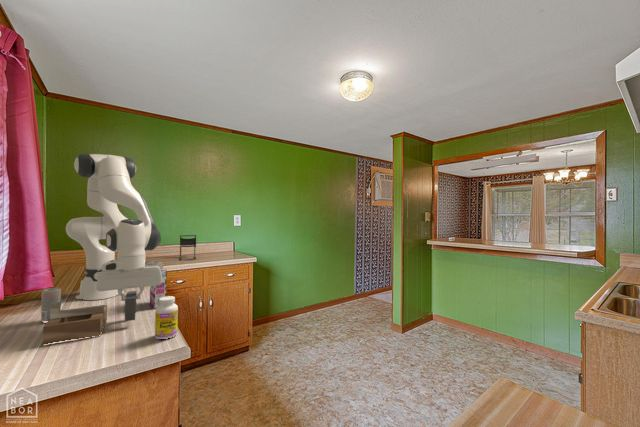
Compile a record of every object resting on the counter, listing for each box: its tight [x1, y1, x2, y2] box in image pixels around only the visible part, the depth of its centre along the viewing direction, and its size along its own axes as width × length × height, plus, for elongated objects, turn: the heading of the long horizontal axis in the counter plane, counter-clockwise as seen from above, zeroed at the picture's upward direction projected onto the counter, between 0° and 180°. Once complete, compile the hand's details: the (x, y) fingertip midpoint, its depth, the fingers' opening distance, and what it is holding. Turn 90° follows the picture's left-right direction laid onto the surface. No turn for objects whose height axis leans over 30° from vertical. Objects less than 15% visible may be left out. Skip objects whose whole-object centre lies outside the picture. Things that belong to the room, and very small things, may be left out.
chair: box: [179, 234, 197, 261], centre depth 249 cm, size 13×17×22 cm
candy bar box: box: [149, 267, 168, 309], centre depth 125 cm, size 11×5×16 cm, turn 40°
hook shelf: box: [42, 302, 108, 345], centre depth 96 cm, size 16×14×11 cm
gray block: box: [124, 290, 138, 322], centre depth 104 cm, size 10×3×8 cm, turn 31°
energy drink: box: [40, 287, 62, 322], centre depth 105 cm, size 5×5×12 cm
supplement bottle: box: [154, 295, 179, 340], centre depth 94 cm, size 7×7×13 cm
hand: (131, 299), depth 104 cm, fingers closed on gray block, 3 cm apart
